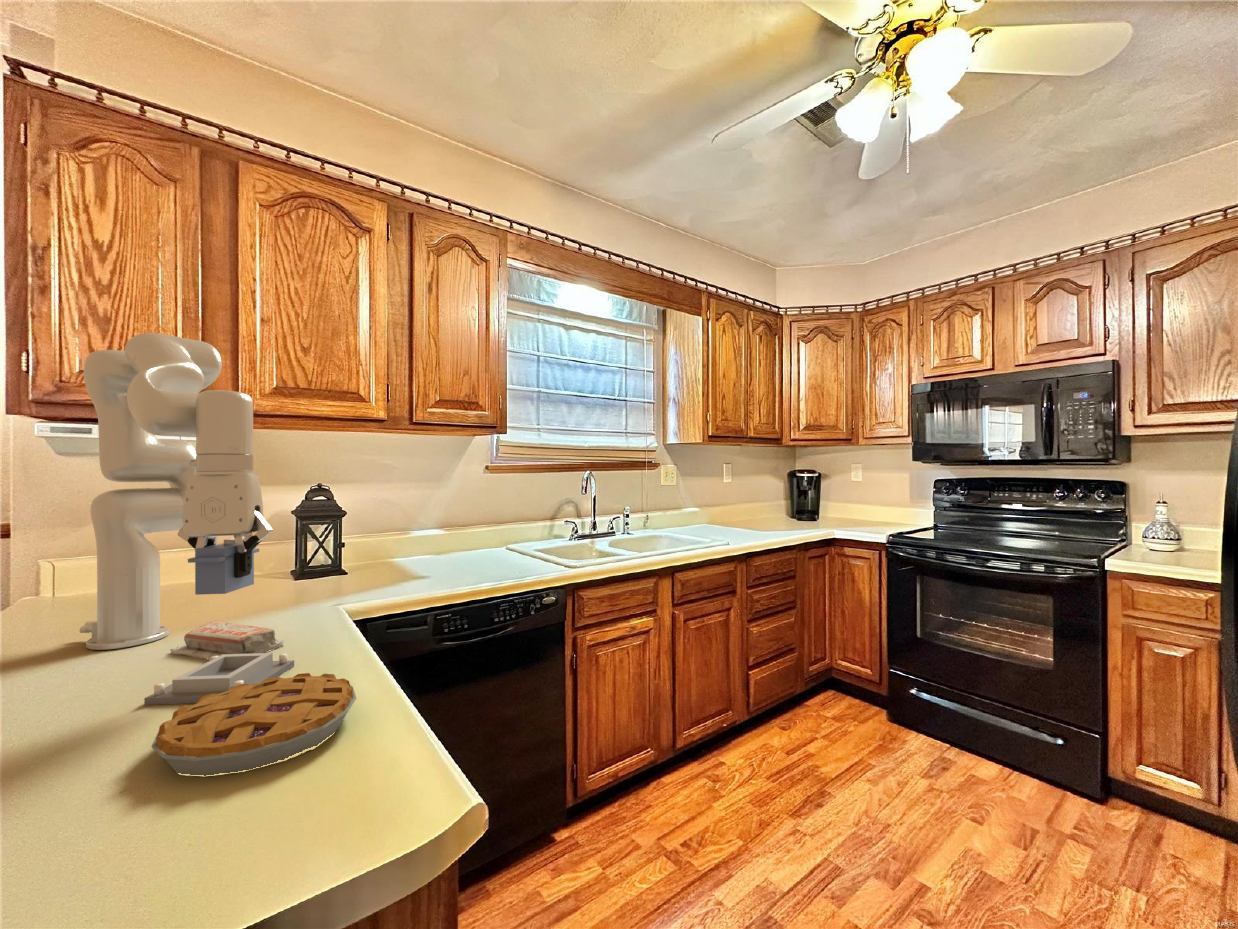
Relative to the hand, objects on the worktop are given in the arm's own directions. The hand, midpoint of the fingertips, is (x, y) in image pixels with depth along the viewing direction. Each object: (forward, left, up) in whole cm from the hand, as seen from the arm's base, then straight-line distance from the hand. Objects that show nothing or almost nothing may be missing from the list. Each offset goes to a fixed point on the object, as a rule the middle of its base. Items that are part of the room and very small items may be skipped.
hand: (226, 575), depth 84 cm
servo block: (0, 0, -2) cm, 2 cm away
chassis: (0, 0, -18) cm, 18 cm away
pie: (+17, -18, -18) cm, 30 cm away
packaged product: (-11, +17, -19) cm, 28 cm away
